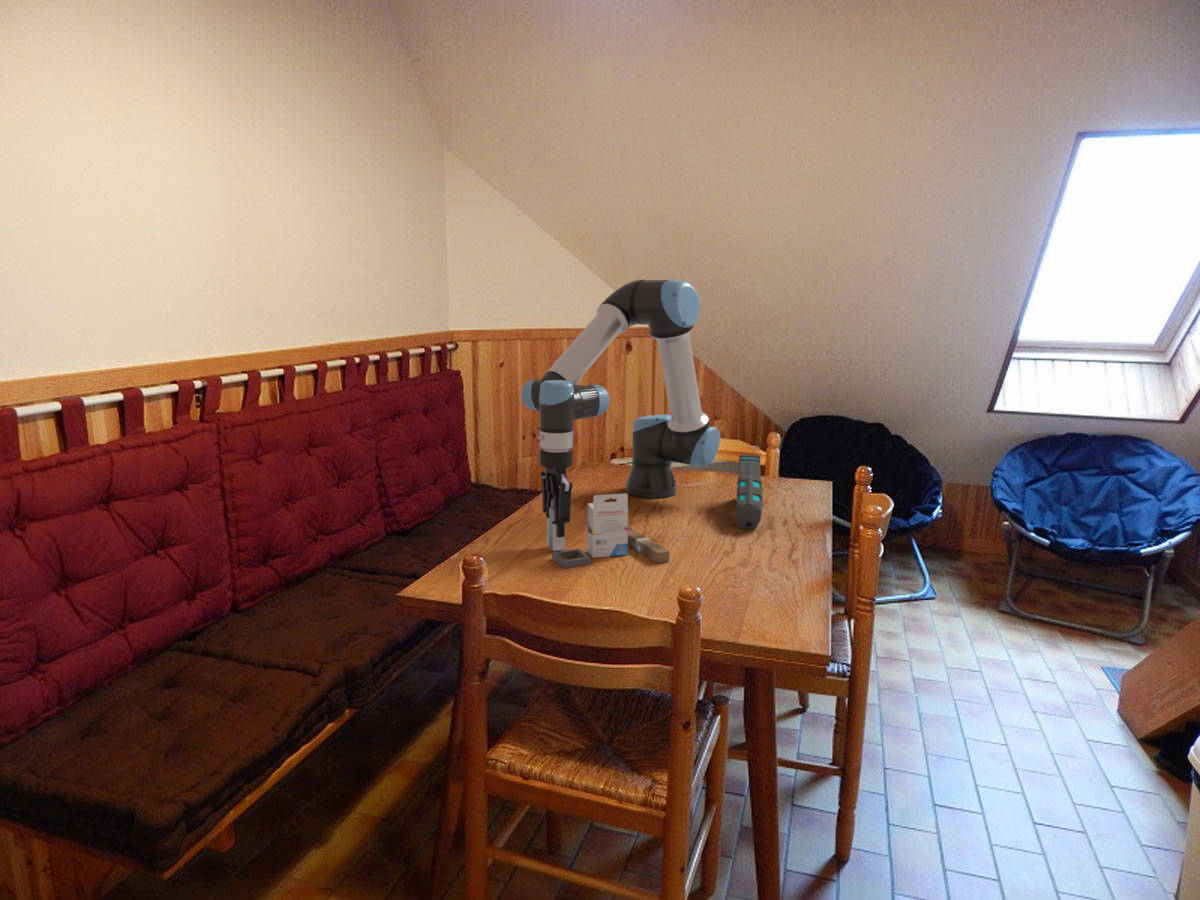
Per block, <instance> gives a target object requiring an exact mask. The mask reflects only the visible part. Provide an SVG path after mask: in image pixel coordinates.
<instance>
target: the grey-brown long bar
mask: <svg viewBox="0 0 1200 900" xmlns="http://www.w3.org/2000/svg"><path fill="white" fill-rule="evenodd" d="M627 546H630V547H631V548H632V549H634V550H636V551H637V552H639V553H640V554H642V555H643V556H645V557H646V558H648V559H650V560H651V561H652V562H654V563H656V565H657V564H662V563H670V551H669V549H667V548H665V547H663V546H662V545H660V544H658V543H656V542H655V541H653V539H652V538H649V537H647V536H645V535H643V534H642V533H640V532H638V531H637V530H635V529H634V528H632V527H630V526H628V543H627Z"/></svg>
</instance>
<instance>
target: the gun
mask: <svg viewBox="0 0 1200 900" xmlns="http://www.w3.org/2000/svg"><path fill="white" fill-rule="evenodd" d="M738 457H739V459H738V460H739V461H738V478H737V482H736V483H737V484H736V497H735V498H736V503H735V510H736V511H735V514H736V519H737V521H738V524H739V527H740V529H743V530H756V529H757V528H758V526H759V524H760V521H761V519H762V513H763V504H764V503H763V482H762V477H761V455H758V454H757V455H755V454H739V456H738Z"/></svg>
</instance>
